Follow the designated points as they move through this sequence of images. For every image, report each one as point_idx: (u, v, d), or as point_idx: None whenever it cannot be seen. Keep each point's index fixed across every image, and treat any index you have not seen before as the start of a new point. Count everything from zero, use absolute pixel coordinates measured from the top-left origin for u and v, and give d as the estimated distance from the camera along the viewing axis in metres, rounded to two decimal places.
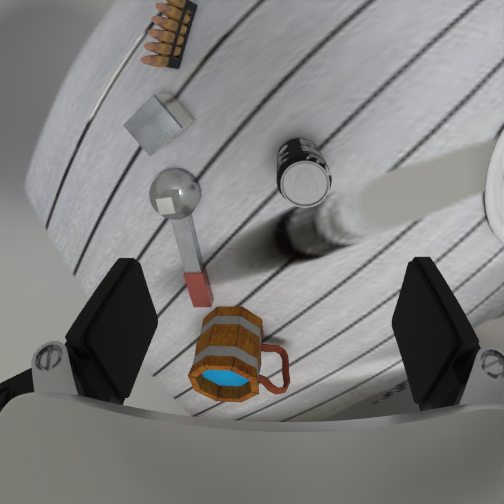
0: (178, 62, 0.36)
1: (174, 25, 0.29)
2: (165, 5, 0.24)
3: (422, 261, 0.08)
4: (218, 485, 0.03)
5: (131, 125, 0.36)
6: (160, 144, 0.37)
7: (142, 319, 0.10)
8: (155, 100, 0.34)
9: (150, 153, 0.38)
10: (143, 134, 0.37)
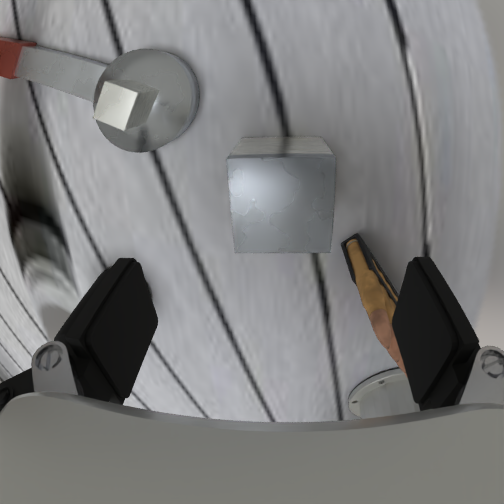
0: None
1: None
2: None
3: (422, 261, 0.08)
4: (218, 485, 0.03)
5: (319, 173, 0.16)
6: (233, 198, 0.17)
7: (142, 319, 0.10)
8: (318, 250, 0.19)
9: (231, 164, 0.16)
10: (280, 181, 0.17)
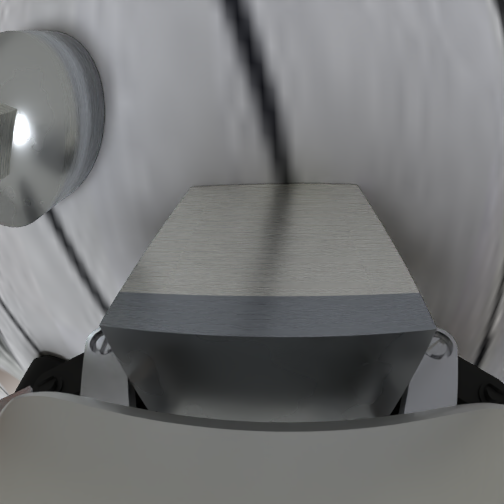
0: None
1: None
2: None
3: None
4: (218, 485, 0.03)
5: (378, 366, 0.05)
6: (146, 394, 0.06)
7: None
8: None
9: (116, 339, 0.05)
10: (261, 384, 0.05)
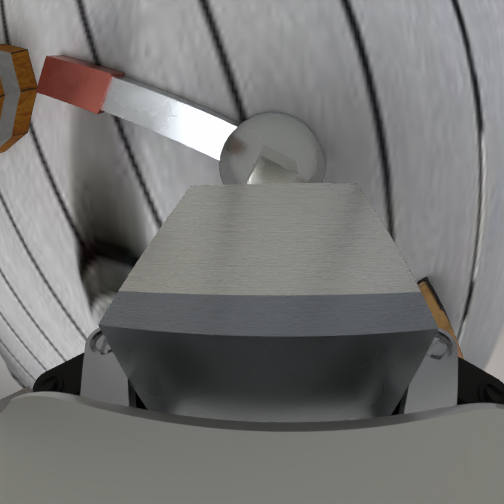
0: None
1: None
2: None
3: None
4: (218, 485, 0.03)
5: (380, 366, 0.05)
6: (145, 394, 0.06)
7: None
8: None
9: (115, 338, 0.05)
10: (261, 383, 0.05)
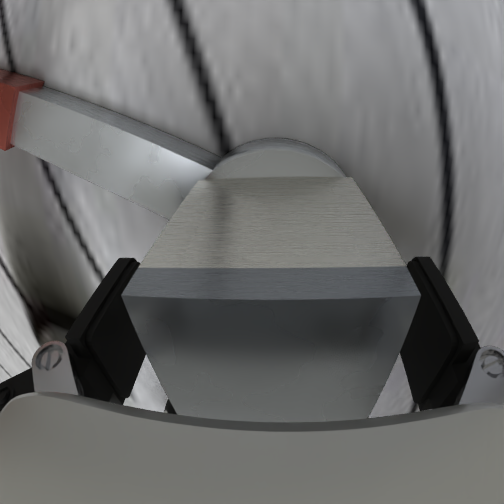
0: None
1: None
2: None
3: (422, 261, 0.08)
4: (218, 485, 0.03)
5: (370, 331, 0.06)
6: (159, 365, 0.07)
7: None
8: None
9: (135, 308, 0.06)
10: (266, 348, 0.06)
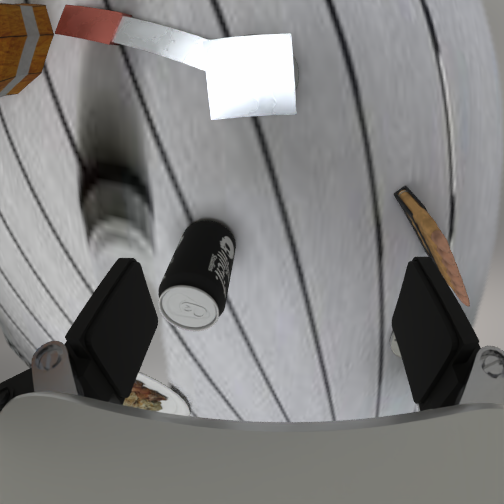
0: (400, 204, 0.32)
1: (434, 258, 0.29)
2: (457, 290, 0.26)
3: (422, 261, 0.08)
4: (218, 485, 0.03)
5: (278, 45, 0.17)
6: (208, 70, 0.18)
7: (142, 319, 0.10)
8: (285, 112, 0.20)
9: (206, 45, 0.17)
10: (246, 54, 0.17)
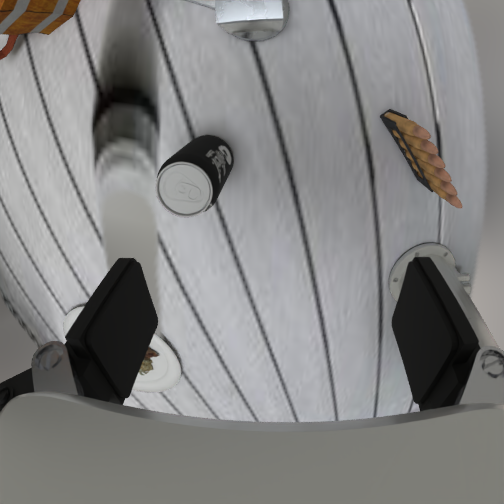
0: (386, 123, 0.32)
1: (422, 167, 0.30)
2: (447, 192, 0.27)
3: (422, 261, 0.08)
4: (218, 485, 0.03)
5: None
6: None
7: (142, 319, 0.10)
8: (274, 17, 0.21)
9: None
10: None
